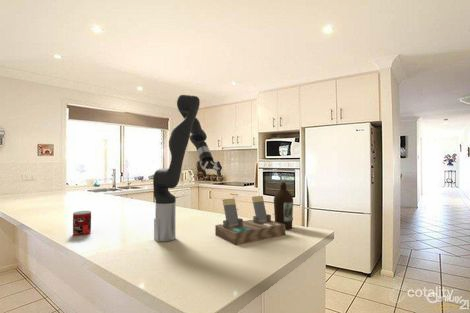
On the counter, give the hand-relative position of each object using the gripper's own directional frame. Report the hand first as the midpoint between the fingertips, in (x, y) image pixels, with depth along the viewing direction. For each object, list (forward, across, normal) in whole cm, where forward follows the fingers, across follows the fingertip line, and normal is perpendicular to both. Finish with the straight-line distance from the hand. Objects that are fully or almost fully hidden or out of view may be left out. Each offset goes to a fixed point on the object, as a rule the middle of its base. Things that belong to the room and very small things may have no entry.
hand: (212, 176), depth 147 cm
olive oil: (+35, +34, +6) cm, 49 cm away
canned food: (+6, -64, +34) cm, 73 cm away
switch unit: (+37, +10, +3) cm, 38 cm away
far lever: (+31, +19, +1) cm, 36 cm away
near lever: (+31, +1, 0) cm, 31 cm away
